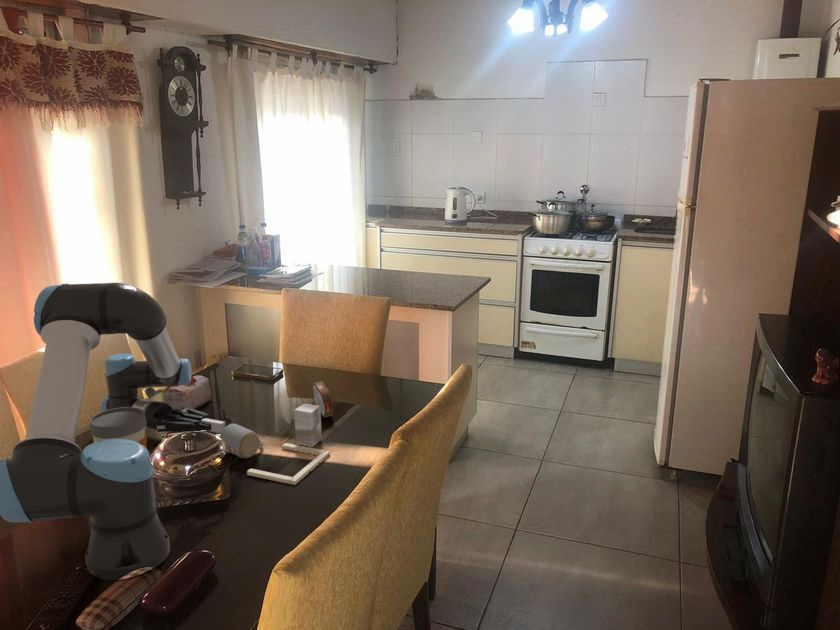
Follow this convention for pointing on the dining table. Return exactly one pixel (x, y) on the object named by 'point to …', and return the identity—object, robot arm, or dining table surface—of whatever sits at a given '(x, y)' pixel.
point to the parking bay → (299, 475)
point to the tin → (323, 399)
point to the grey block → (307, 425)
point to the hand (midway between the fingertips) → (223, 427)
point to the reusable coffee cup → (119, 425)
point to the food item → (189, 394)
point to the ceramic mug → (241, 440)
